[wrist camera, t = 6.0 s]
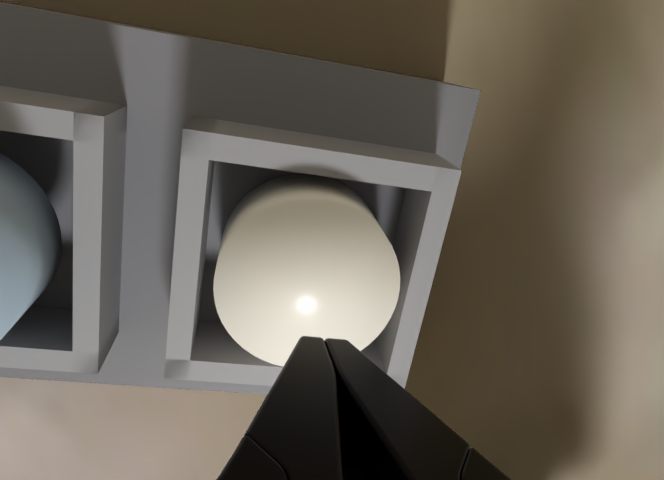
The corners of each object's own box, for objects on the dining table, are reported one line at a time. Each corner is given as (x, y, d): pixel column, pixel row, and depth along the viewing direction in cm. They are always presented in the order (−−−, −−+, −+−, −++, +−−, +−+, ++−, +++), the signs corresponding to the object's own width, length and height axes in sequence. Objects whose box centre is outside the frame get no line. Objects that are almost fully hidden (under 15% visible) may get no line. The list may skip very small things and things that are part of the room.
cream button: (394, 185, 14) (419, 213, 12) (363, 326, 16) (379, 374, 13) (230, 162, 13) (223, 186, 11) (213, 312, 15) (205, 361, 13)
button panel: (444, 82, 16) (515, 98, 12) (380, 352, 20) (415, 448, 15) (-513, -93, 12) (-985, -172, 8) (-389, 287, 16) (-665, 392, 11)
